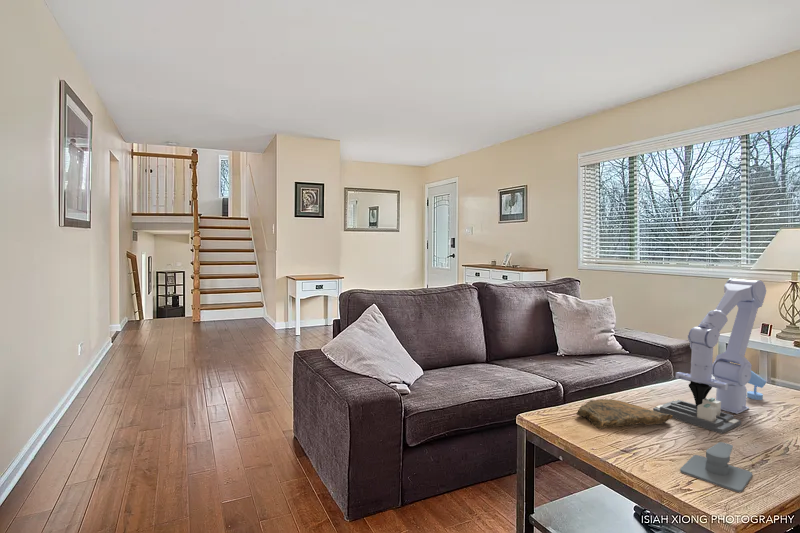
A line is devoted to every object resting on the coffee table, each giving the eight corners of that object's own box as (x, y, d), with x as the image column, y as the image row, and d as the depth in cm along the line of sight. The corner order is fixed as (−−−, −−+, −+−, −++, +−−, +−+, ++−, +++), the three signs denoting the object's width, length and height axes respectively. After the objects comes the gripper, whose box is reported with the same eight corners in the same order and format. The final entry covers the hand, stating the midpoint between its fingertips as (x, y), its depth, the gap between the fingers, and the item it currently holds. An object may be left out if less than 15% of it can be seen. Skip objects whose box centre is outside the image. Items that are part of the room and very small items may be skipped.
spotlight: (741, 397, 164) (765, 401, 160) (742, 370, 164) (767, 373, 160) (741, 393, 168) (765, 397, 164) (742, 367, 168) (766, 370, 164)
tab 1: (706, 411, 147) (707, 396, 147) (720, 415, 144) (721, 399, 143) (701, 413, 145) (702, 397, 145) (715, 417, 142) (716, 401, 142)
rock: (618, 394, 157) (679, 412, 140) (617, 410, 157) (677, 430, 140) (570, 401, 145) (630, 422, 127) (569, 418, 145) (629, 442, 127)
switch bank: (673, 404, 157) (673, 397, 157) (741, 424, 140) (741, 417, 140) (653, 411, 150) (653, 405, 150) (722, 433, 133) (722, 426, 133)
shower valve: (757, 451, 112) (742, 471, 102) (755, 472, 112) (740, 495, 102) (698, 434, 121) (679, 451, 111) (697, 454, 121) (678, 473, 111)
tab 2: (701, 417, 142) (702, 401, 141) (715, 422, 138) (716, 405, 138) (696, 419, 140) (697, 403, 140) (711, 424, 137) (712, 407, 136)
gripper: (671, 361, 150) (669, 401, 151) (721, 372, 138) (719, 415, 139) (682, 358, 154) (680, 397, 155) (731, 368, 142) (729, 411, 143)
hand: (699, 405), depth 147 cm, fingers closed
